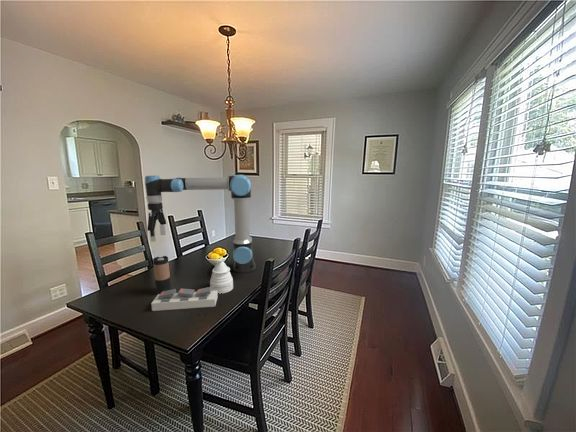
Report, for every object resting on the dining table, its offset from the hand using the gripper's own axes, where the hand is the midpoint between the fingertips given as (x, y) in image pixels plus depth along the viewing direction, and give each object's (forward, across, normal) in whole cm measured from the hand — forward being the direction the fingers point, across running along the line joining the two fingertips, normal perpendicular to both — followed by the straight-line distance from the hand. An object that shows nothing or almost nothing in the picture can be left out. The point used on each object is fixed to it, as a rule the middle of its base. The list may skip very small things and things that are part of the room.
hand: (158, 238), depth 147 cm
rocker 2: (+23, +26, +31) cm, 46 cm away
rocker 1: (+23, +27, +13) cm, 37 cm away
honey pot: (+28, +12, +37) cm, 48 cm away
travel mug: (+28, +13, +5) cm, 31 cm away
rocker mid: (+23, +27, +22) cm, 41 cm away
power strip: (+28, +28, +22) cm, 45 cm away
